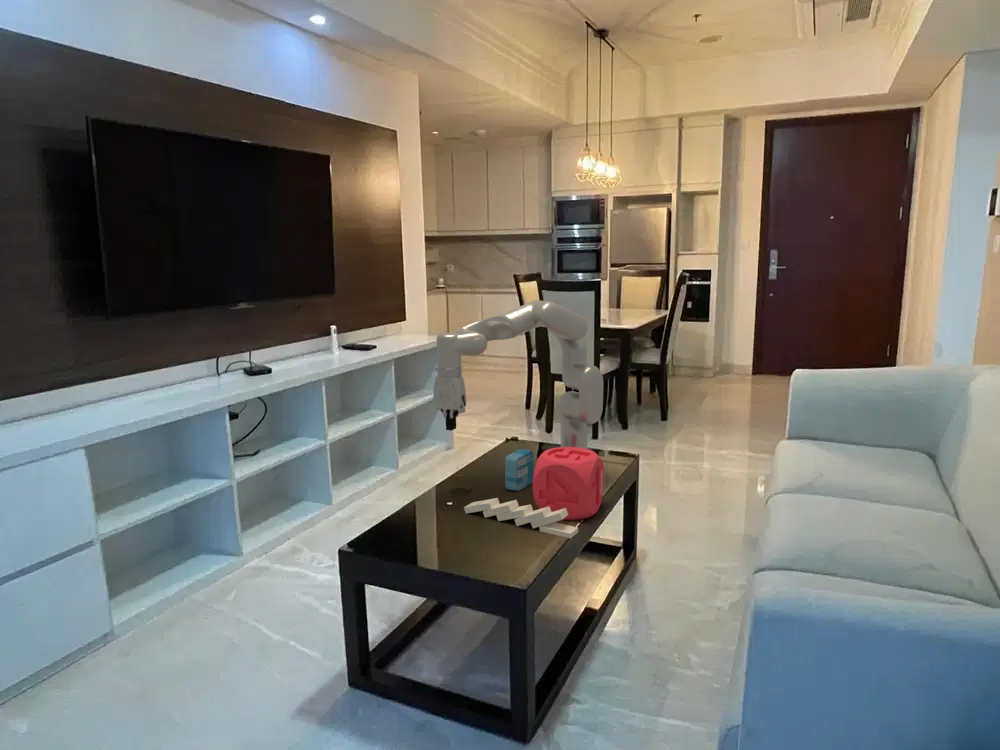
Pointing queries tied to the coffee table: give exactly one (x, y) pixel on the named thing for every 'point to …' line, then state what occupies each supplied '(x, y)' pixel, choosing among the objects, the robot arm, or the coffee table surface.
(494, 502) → the domino
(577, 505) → the red foam number die
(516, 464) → the data package
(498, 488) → the coffee table surface
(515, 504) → the domino
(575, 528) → the domino
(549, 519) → the domino
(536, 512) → the domino
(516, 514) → the domino
